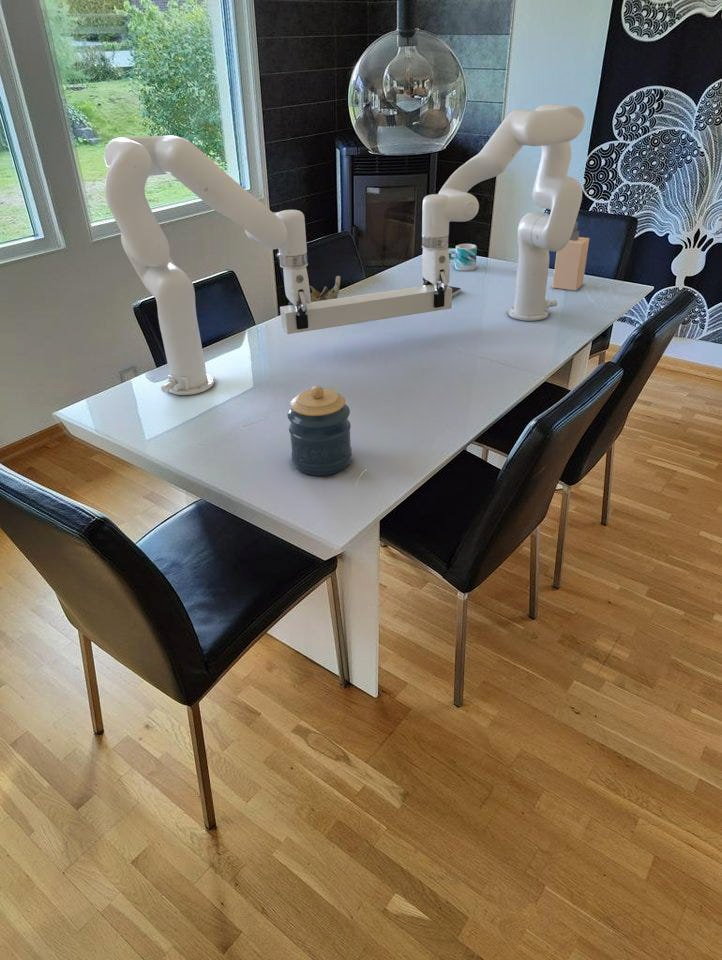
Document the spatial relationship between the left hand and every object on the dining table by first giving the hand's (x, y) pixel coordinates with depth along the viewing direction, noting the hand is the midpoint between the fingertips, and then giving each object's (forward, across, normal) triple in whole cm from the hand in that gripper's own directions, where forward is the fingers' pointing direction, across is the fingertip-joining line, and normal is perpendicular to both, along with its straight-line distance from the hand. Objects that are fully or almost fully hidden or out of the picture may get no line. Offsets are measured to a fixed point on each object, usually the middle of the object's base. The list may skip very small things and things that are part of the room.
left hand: (299, 323), depth 189 cm
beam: (+1, 0, -21) cm, 21 cm away
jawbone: (+10, +43, -22) cm, 49 cm away
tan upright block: (+10, +21, -105) cm, 108 cm away
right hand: (0, 0, -42) cm, 42 cm away
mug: (+10, +62, -84) cm, 105 cm away
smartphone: (+10, +33, -62) cm, 70 cm away
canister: (+10, -58, +12) cm, 60 cm away
